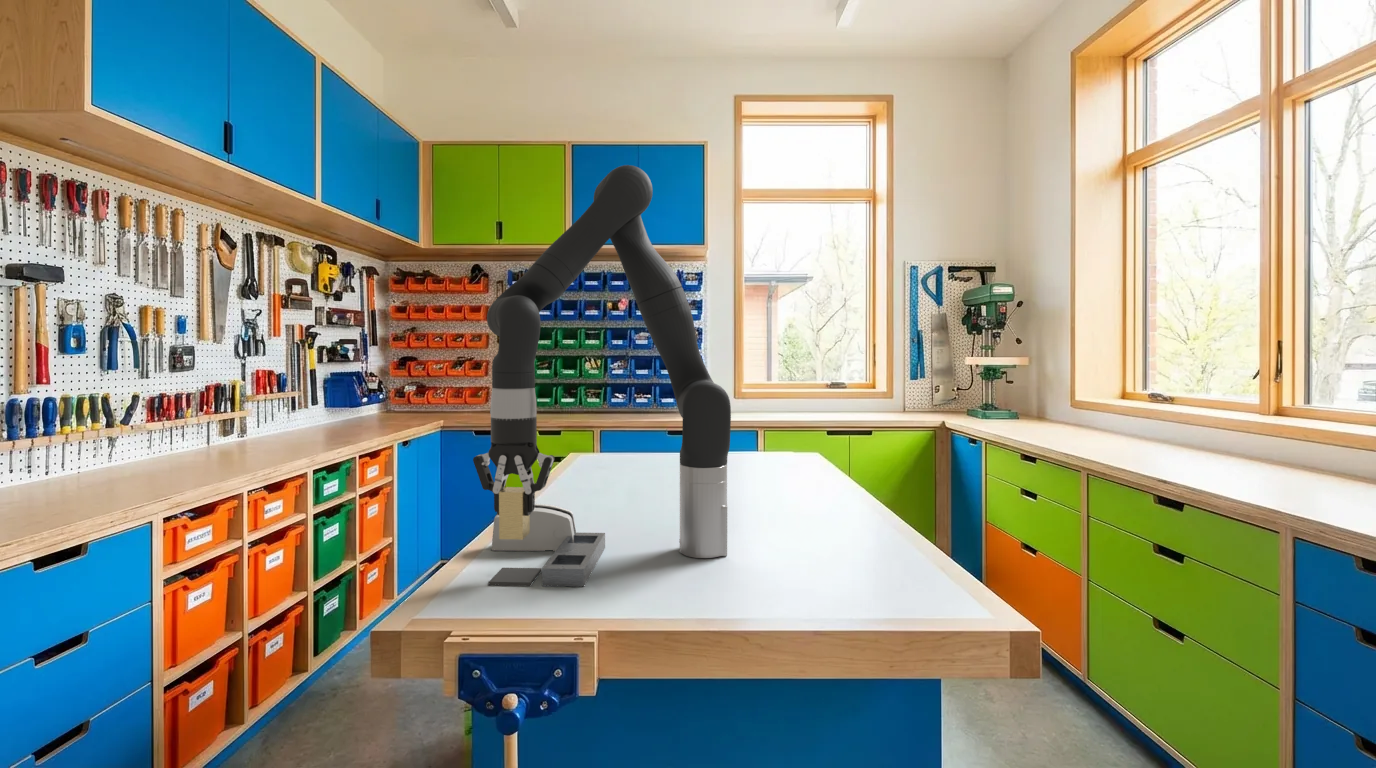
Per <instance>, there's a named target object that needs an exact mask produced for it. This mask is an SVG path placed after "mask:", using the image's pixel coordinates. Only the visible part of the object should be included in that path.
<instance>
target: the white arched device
mask: <svg viewBox="0 0 1376 768" xmlns="http://www.w3.org/2000/svg"><path fill="white" fill-rule="evenodd" d="M493 519H494V520H493V527H492V528H493V529H492V530H493V531H492V541H491V550H490V551H502V552H504V551H505V552H506V551H507V552H508V551H509V552H511V551H512V552H513V551H518V552H521V551H522V552H523V551H526V552H529V551H530V552H531V551H533V552H537V551H538V552H541V551H543V552H546V551H545V550H553V551H552V552H555V551H556V550H557V549H558V547H559V546H560V545H561V543H562V542H563V541H564V540H565V538H566V537H567V536H572V543H574V535H575V534H574V533H577V530H576V524H575V523H576V522H575V517H574V513H573V511H572V510H570V509H567V508H564V507H561V506H559V505H558V506H557V505H553V504H552V505H551V504H546V503H535V508H534V510H533V511H532V512H531V514H530V533H529V534H528V535H527V536H526V537H525V538H524V539H523V540H518V539H499V515H498V514H496V515H495V517H494V518H493Z"/></svg>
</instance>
